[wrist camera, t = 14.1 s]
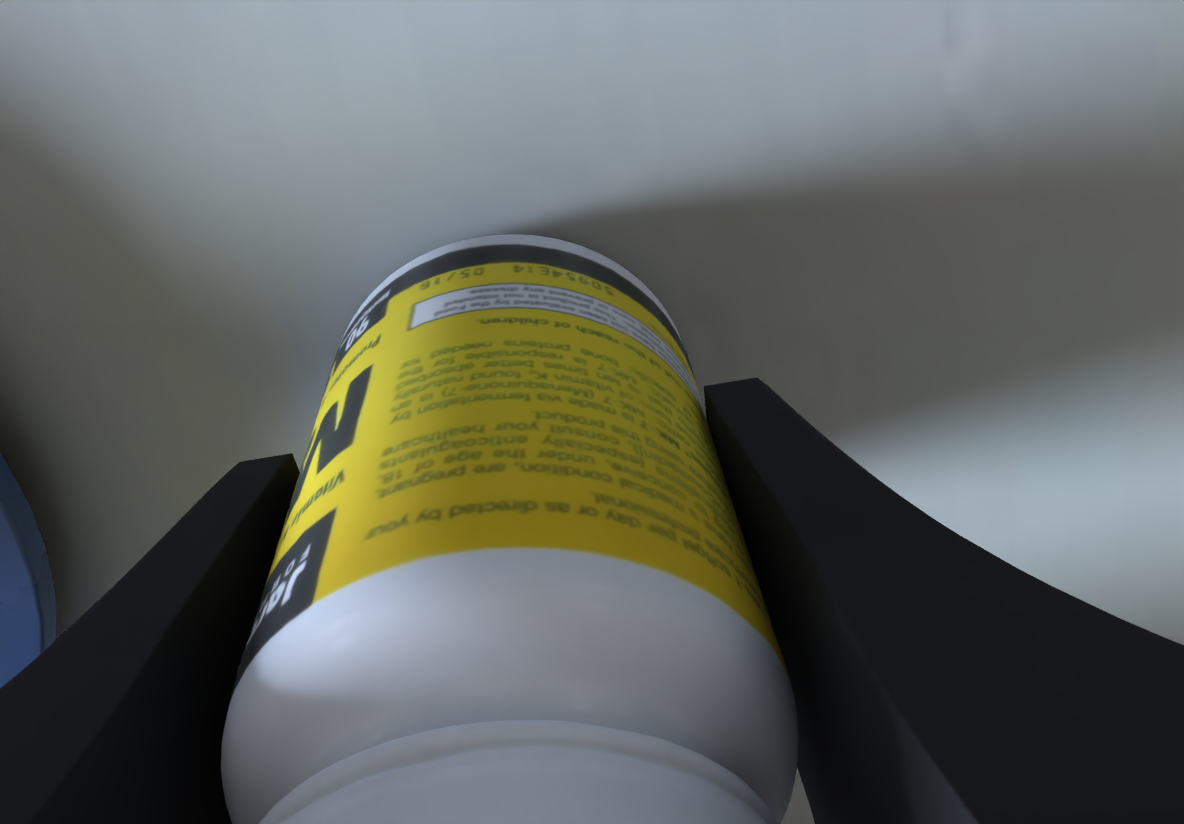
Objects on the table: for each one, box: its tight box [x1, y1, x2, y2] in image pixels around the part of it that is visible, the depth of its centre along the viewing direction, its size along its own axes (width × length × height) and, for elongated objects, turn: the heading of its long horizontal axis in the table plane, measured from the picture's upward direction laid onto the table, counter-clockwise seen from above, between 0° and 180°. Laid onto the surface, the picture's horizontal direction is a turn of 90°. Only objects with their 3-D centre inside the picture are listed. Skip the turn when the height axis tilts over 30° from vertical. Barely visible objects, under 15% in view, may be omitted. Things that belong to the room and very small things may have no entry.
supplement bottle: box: [221, 234, 799, 824], centre depth 9 cm, size 5×5×8 cm
